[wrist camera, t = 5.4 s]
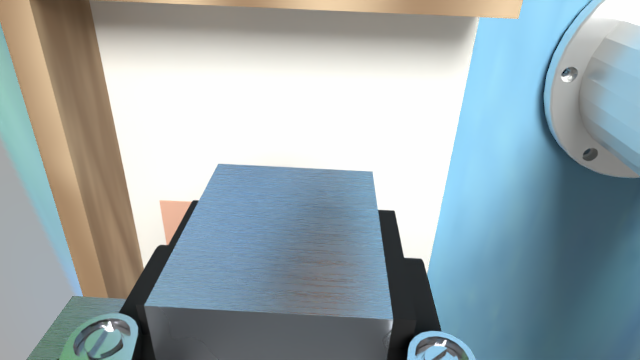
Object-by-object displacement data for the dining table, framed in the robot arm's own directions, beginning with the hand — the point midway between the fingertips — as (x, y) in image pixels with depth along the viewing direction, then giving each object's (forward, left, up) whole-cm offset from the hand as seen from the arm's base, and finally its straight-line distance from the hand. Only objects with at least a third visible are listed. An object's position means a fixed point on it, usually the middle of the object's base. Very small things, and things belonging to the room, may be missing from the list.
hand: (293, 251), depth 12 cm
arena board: (+2, +7, -16) cm, 17 cm away
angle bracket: (+2, +2, 0) cm, 3 cm away
